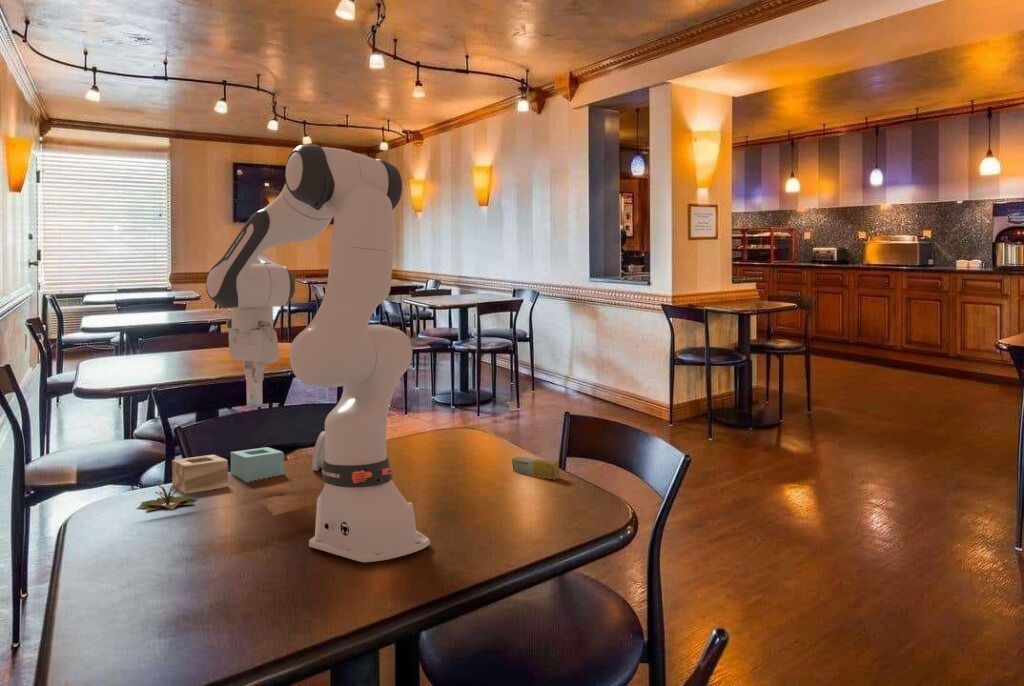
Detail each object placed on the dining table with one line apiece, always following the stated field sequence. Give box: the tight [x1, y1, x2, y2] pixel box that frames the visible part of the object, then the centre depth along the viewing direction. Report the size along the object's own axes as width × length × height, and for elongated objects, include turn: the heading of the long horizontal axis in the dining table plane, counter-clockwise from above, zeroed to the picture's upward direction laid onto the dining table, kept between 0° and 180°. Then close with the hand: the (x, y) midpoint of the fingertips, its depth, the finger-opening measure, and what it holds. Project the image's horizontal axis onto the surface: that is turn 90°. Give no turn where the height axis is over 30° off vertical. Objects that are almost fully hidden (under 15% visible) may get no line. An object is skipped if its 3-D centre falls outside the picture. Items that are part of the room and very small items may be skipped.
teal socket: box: [230, 446, 285, 483], centre depth 164 cm, size 9×9×6 cm
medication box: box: [511, 456, 561, 481], centre depth 162 cm, size 12×3×4 cm, turn 52°
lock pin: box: [245, 367, 264, 408], centre depth 163 cm, size 4×4×9 cm
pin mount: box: [171, 454, 229, 495], centre depth 155 cm, size 9×9×6 cm
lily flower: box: [135, 482, 197, 513], centre depth 141 cm, size 12×12×5 cm
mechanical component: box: [311, 430, 325, 472], centre depth 169 cm, size 10×4×10 cm, turn 179°
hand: (254, 380), depth 163 cm, fingers closed on lock pin, 3 cm apart
